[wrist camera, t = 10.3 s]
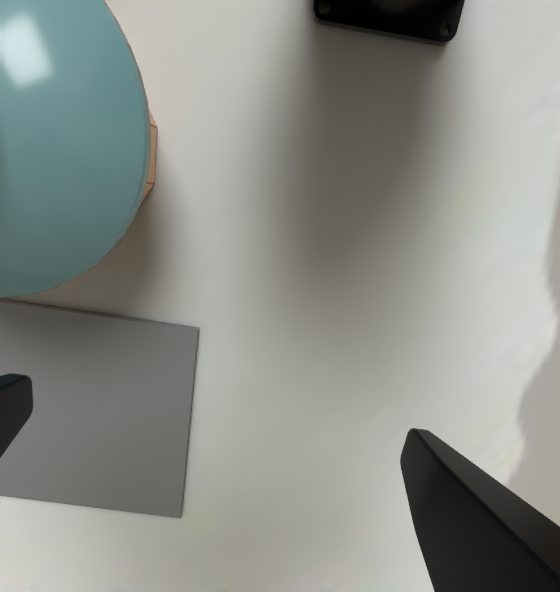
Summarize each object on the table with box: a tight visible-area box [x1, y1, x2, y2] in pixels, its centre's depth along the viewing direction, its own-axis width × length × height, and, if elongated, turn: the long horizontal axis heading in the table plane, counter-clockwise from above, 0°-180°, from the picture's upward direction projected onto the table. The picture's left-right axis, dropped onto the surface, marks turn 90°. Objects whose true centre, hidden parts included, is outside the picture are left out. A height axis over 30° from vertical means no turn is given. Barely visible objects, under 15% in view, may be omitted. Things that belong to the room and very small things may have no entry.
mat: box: [0, 299, 199, 518], centre depth 22 cm, size 16×14×1 cm
